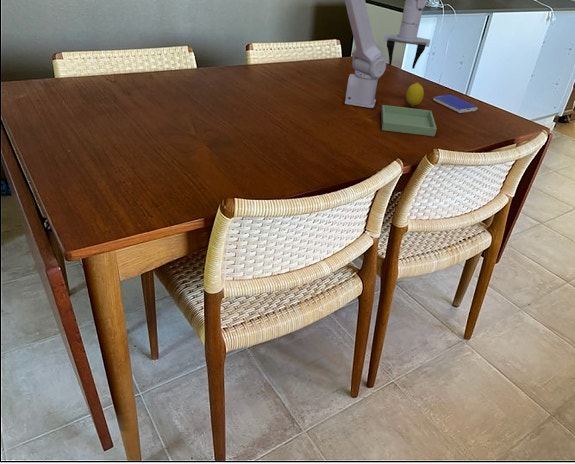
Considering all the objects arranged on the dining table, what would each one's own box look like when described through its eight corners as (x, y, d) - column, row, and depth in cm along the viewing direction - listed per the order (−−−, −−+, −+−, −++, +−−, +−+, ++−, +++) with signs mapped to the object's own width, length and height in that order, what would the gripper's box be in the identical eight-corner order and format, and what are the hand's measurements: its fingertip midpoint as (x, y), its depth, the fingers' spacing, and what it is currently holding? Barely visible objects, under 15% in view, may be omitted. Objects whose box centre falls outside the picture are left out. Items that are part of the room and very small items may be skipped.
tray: (381, 130, 136) (383, 122, 135) (381, 112, 148) (382, 104, 147) (434, 136, 135) (436, 128, 133) (429, 117, 147) (431, 110, 146)
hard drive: (433, 96, 161) (460, 108, 152) (451, 94, 164) (478, 106, 155) (432, 100, 161) (458, 113, 153) (450, 98, 165) (476, 110, 156)
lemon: (422, 106, 156) (427, 82, 151) (418, 111, 152) (424, 86, 147) (405, 102, 158) (410, 79, 153) (401, 107, 153) (407, 83, 149)
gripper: (433, 23, 150) (423, 66, 158) (388, 17, 153) (381, 60, 161) (433, 27, 145) (423, 71, 153) (386, 21, 147) (379, 65, 155)
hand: (401, 66), depth 156 cm, fingers open, 7 cm apart
